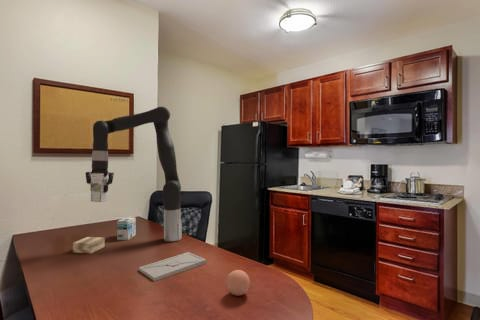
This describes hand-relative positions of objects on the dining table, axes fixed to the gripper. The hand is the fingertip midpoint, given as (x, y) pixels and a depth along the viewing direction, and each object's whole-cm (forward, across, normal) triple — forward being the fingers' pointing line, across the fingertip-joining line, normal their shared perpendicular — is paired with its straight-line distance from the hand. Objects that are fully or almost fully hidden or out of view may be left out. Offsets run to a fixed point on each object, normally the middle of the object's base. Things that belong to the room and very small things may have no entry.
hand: (99, 192), depth 140 cm
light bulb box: (+29, -7, -19) cm, 35 cm away
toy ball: (+27, -75, +46) cm, 92 cm away
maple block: (+29, +3, +2) cm, 30 cm away
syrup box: (+5, 0, 0) cm, 5 cm away
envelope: (+28, -46, +24) cm, 59 cm away
